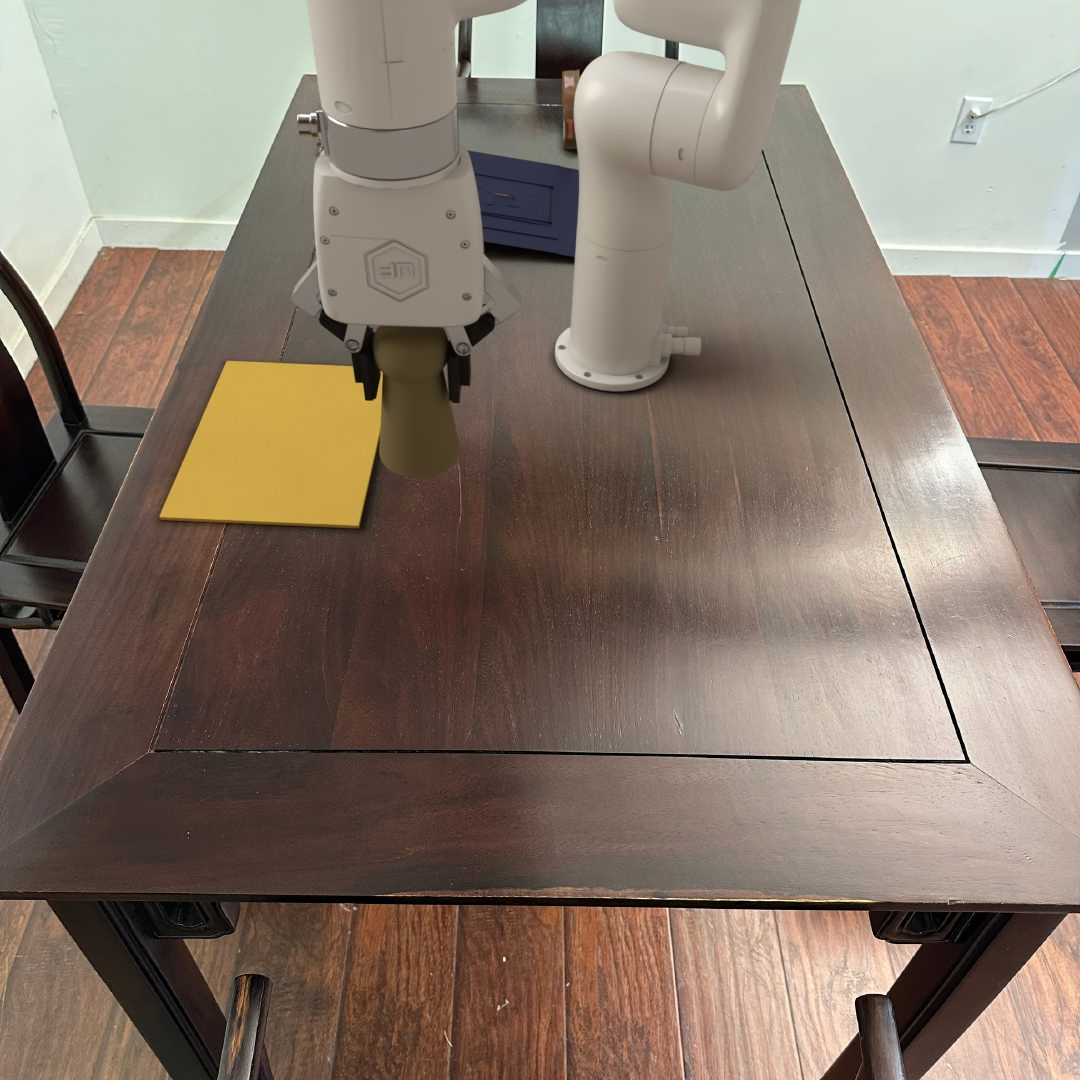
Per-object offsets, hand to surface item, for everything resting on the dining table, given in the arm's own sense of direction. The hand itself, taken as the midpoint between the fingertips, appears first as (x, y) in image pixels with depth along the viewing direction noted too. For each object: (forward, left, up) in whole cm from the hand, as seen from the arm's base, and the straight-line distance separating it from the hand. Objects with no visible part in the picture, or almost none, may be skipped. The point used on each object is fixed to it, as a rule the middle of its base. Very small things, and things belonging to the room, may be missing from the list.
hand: (414, 387), depth 68 cm
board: (+16, -18, -21) cm, 32 cm away
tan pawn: (0, 0, -6) cm, 6 cm away
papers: (-1, -66, -21) cm, 70 cm away
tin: (-11, -91, -21) cm, 94 cm away
